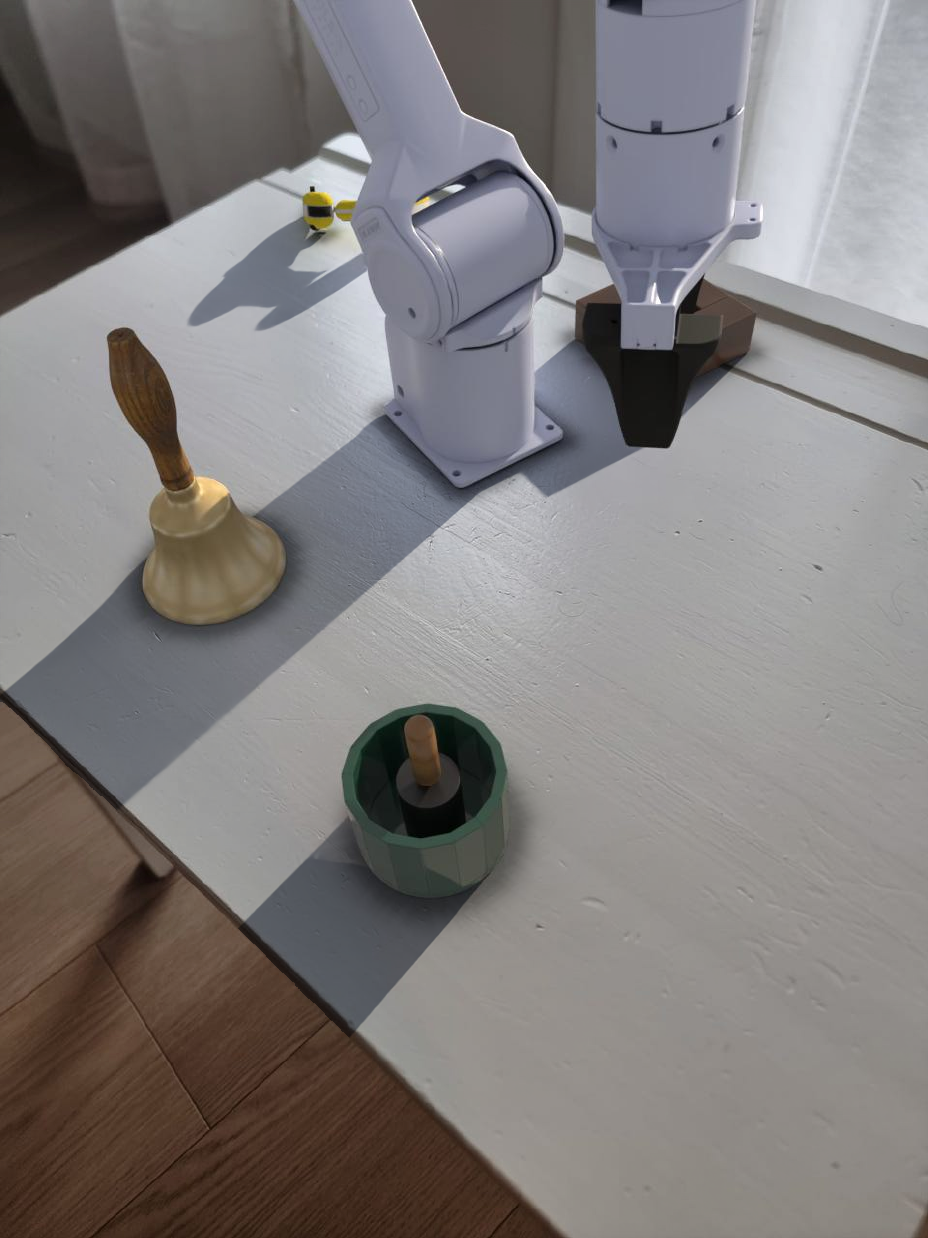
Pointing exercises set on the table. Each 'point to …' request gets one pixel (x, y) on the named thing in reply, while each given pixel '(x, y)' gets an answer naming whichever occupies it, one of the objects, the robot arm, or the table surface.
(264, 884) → the table surface
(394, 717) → the cup
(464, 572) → the table surface
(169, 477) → the hand bell
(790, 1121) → the table surface
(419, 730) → the peg-topped grey cylinder
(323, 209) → the yellow segmented toy
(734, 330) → the frame
